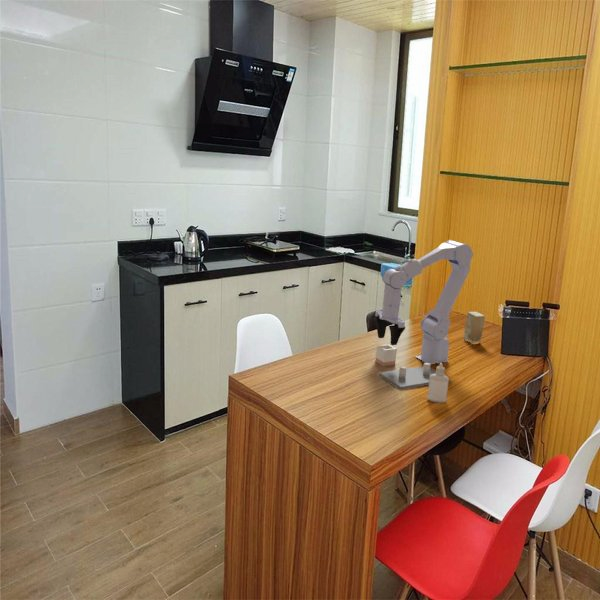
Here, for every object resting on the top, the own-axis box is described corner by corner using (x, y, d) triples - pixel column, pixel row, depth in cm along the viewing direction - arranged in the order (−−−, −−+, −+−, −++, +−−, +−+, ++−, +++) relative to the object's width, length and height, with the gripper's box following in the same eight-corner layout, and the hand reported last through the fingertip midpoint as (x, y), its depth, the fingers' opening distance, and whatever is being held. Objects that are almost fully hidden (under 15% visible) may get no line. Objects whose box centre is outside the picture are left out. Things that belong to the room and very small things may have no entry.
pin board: (425, 368, 189) (427, 356, 188) (449, 381, 179) (450, 368, 178) (378, 375, 181) (380, 363, 179) (400, 389, 170) (402, 376, 169)
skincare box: (462, 339, 223) (466, 311, 220) (471, 339, 225) (476, 311, 222) (472, 345, 217) (476, 316, 214) (481, 344, 219) (485, 315, 216)
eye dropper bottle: (440, 405, 161) (445, 367, 158) (424, 398, 165) (429, 362, 162) (448, 401, 164) (453, 364, 161) (432, 395, 168) (436, 359, 165)
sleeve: (386, 359, 196) (388, 344, 194) (395, 364, 191) (396, 348, 190) (375, 361, 193) (376, 345, 192) (383, 366, 189) (385, 350, 187)
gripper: (369, 299, 191) (366, 335, 195) (394, 310, 179) (390, 349, 182) (386, 298, 194) (382, 334, 198) (411, 309, 182) (407, 347, 185)
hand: (387, 341), depth 190 cm, fingers open, 7 cm apart
